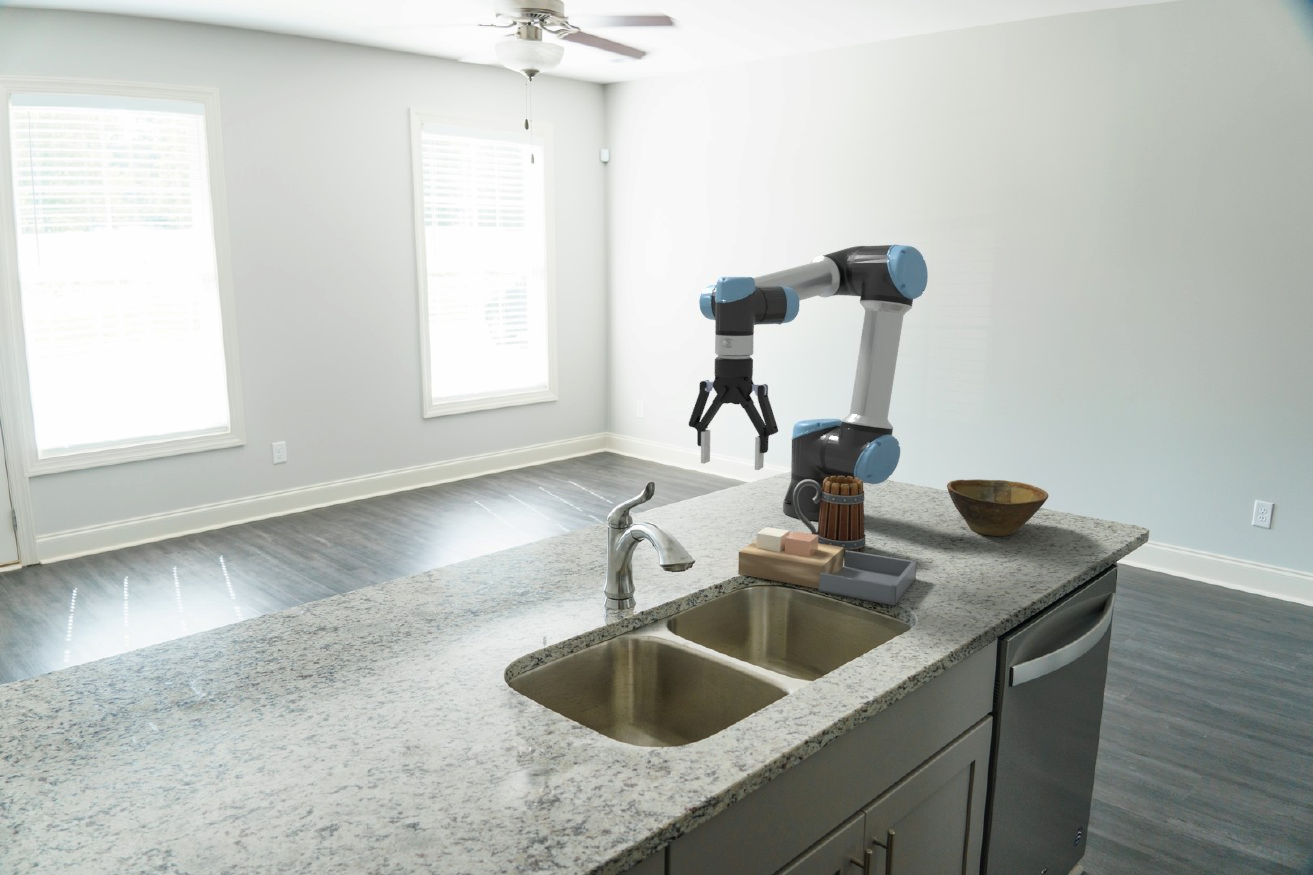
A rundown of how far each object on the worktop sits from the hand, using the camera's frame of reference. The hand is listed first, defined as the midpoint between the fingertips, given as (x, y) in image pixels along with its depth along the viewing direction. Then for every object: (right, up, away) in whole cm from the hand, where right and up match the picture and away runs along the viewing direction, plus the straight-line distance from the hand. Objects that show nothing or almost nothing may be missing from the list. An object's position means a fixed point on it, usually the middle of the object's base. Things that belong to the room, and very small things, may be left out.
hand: (731, 465), depth 178 cm
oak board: (+12, -21, -3) cm, 24 cm away
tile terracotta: (+13, -17, -4) cm, 22 cm away
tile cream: (+8, -16, -1) cm, 18 cm away
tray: (+25, -22, -10) cm, 35 cm away
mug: (+22, -18, +13) cm, 31 cm away
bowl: (+62, -16, +25) cm, 69 cm away
